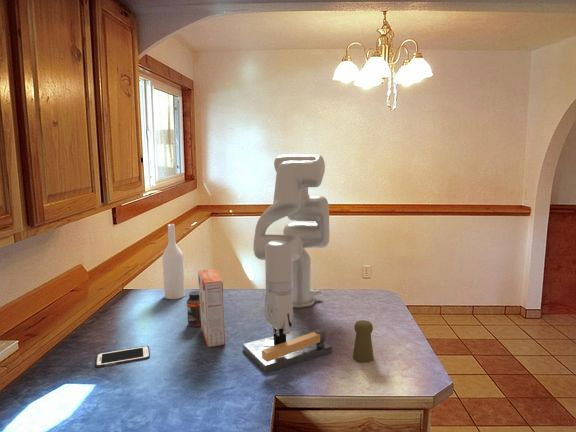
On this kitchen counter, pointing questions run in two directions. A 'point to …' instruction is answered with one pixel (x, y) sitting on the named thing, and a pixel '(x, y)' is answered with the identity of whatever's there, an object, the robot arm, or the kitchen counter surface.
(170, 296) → the bottle
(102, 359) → the cell phone
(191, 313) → the supplement bottle
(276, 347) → the wooden bar
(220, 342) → the cracker box
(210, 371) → the kitchen counter surface
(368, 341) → the cork
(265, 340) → the plate
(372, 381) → the kitchen counter surface
